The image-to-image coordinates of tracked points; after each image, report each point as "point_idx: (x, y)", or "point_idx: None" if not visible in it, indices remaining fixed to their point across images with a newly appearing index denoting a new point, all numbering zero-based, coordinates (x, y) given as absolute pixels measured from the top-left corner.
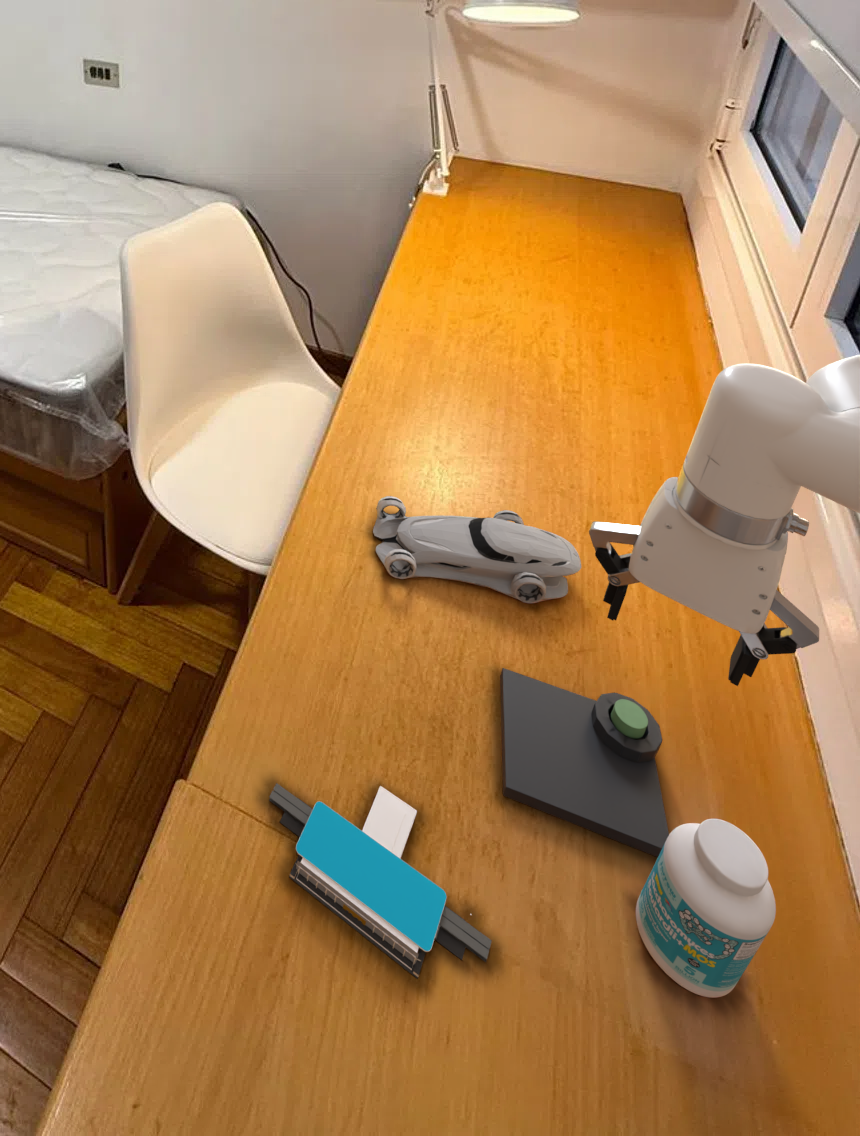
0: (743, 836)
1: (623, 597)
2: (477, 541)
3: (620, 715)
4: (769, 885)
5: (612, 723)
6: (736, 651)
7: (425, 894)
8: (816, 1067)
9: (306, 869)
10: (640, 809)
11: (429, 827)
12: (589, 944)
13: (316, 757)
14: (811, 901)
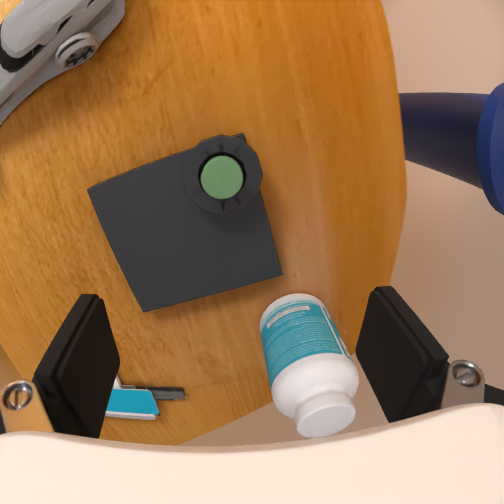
0: (339, 408)
1: (99, 429)
2: (3, 61)
3: (210, 191)
4: (356, 383)
5: None
6: (386, 353)
7: (141, 396)
8: None
9: None
10: (251, 254)
11: (119, 354)
12: (234, 356)
13: None
14: (385, 221)
